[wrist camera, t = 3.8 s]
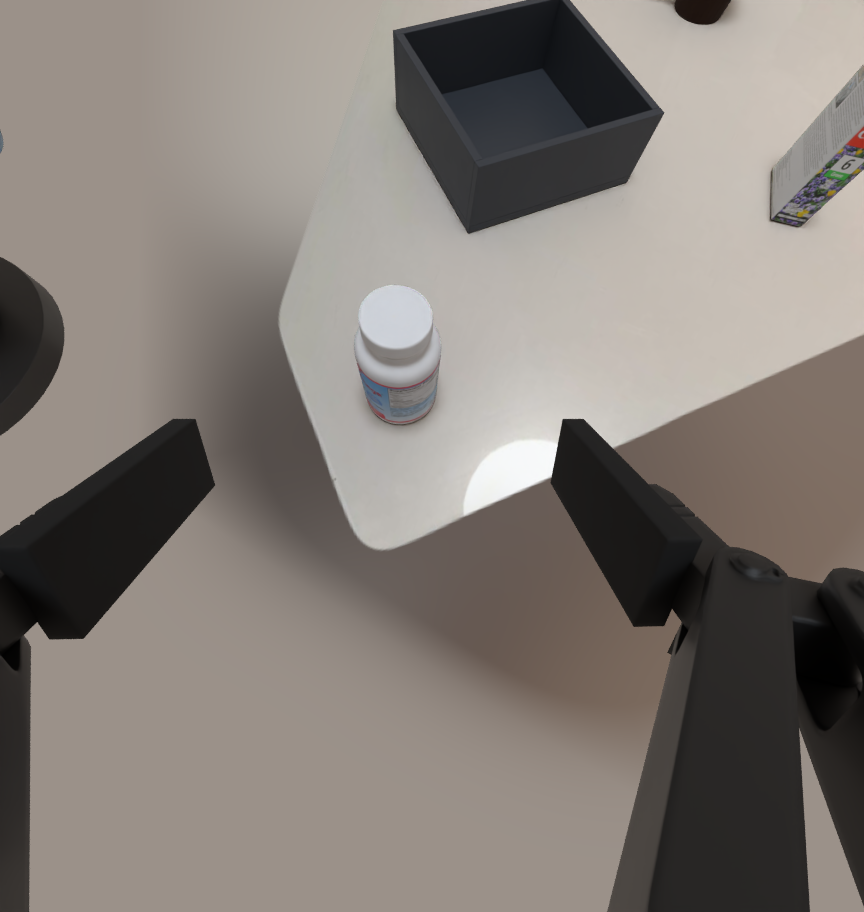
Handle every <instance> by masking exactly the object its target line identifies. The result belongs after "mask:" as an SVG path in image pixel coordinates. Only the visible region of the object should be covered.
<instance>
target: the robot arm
mask: <svg viewBox="0 0 864 912" xmlns="http://www.w3.org/2000/svg"><path fill="white" fill-rule="evenodd" d="M2 148H3V137H2V134H1V131H0V153H1V151H2ZM551 484H552V486H553V488H554V490H555V491H556V493H557V495H558V497H559V498H560V500H561V502H562V503H563V505H564V507H565V509H566V510H567V512H568V514H569V516H570V517H571V519H572V521H573V522H574V524H575V526H576V528H577V529H578V531H579V533H580V534H581V536H582V538H583V540H584V541H585V543H586V545H587V547H588V548H589V550H590V552H591V554H592V555H593V557H594V559H595V560H596V562H597V564H598V566H599V567H600V569H601V571H602V573H603V574H604V576H605V578H606V579H607V581H608V583H609V585H610V586H611V588H612V590H613V591H614V593H615V595H616V597H617V598H618V600H619V602H620V603H621V605H622V607H623V609H624V611H625V612H626V614H627V616H628V617H629V619H630V621H631V623H632V624H633V626H634V627H642V626H664V625H665V623H666V621H667V618H668V616H669V614H670V612H671V610H672V609H673V610H674V612H675V613H676V614H677V616H678V617H679V619H680V620H681V622H682V623H681V625H680V627H679V630H678V632H677V634H676V636H675V638H674V640H673V642H672V644H671V646H670V648H669V650H668V653H669V654H671V659H670V664H669V667H668V671H667V675H666V679H665V683H664V687H663V691H662V695H661V699H660V703H659V707H658V711H657V715H656V719H655V723H654V727H653V731H652V735H651V739H650V743H649V747H648V751H647V755H646V759H645V763H644V767H643V771H642V775H641V779H640V783H639V787H638V791H637V795H636V799H635V803H634V807H633V811H632V815H631V819H630V823H629V827H628V831H627V835H626V839H625V843H624V847H623V851H622V855H621V859H620V863H619V867H618V871H617V875H616V879H615V883H614V887H613V891H612V895H611V899H610V904H609V907H608V911H607V912H810V907H809V889H808V874H807V873H808V872H807V855H806V839H805V821H804V805H803V788H802V771H801V754H800V737H799V728H800V731H801V734H802V737H803V739H804V742H805V745H806V748H807V750H808V753H809V756H810V759H811V762H812V764H813V767H814V770H815V773H816V775H817V778H818V781H819V784H820V786H821V789H822V792H823V795H824V798H825V800H826V803H827V806H828V808H829V811H830V814H831V817H832V819H833V822H834V825H835V828H836V831H837V834H838V836H839V839H840V842H841V845H842V847H843V850H844V853H845V856H846V858H847V861H848V864H849V867H850V870H851V872H852V875H853V878H854V880H855V883H856V886H857V889H858V892H859V894H860V897H861V900H862V903H863V905H864V572H863V571H860V570H855V569H849V568H837V569H833V570H832V571H831V572H830V573H829V574H828V576H827V577H826V579H825V580H824V582H823V583H817V582H812V581H806V580H801V579H797V578H792V577H788V576H787V574H786V573H785V572H784V571H783V570H782V569H781V568H780V567H779V566H778V565H777V564H775V563H774V562H772V561H770V560H769V559H767V558H766V557H764V556H761V555H759V554H757V553H755V552H752V551H749V550H745V549H741V548H737V547H729V546H728V545H727V544H726V543H725V542H723V541H722V539H720V538H719V537H718V536H717V535H716V534H715V533H714V532H713V531H712V530H711V529H710V528H709V527H708V526H707V525H706V524H704V523H703V522H702V521H701V520H700V519H699V518H698V517H695V514H694V513H693V512H692V511H691V510H690V509H689V508H688V507H685V505H684V504H683V503H682V502H681V501H680V500H679V499H678V498H677V497H676V496H675V495H674V494H673V493H671V492H669V491H667V490H666V489H664V488H662V487H660V486H658V485H657V484H647V483H646V481H645V480H644V479H642V478H641V476H640V475H639V474H638V473H637V472H636V471H635V470H634V469H633V468H632V467H630V466H629V464H628V463H627V462H626V461H625V460H624V459H622V457H621V456H620V455H618V453H617V452H616V451H615V450H614V449H613V448H612V447H611V446H610V445H609V444H608V443H607V442H606V441H605V440H604V439H603V438H602V437H601V436H600V435H599V434H598V433H597V432H596V431H595V430H594V429H593V428H592V427H591V426H590V425H589V424H588V423H587V422H586V421H585V420H584V419H563V421H562V426H561V431H560V436H559V442H558V447H557V452H556V457H555V463H554V468H553V473H552V478H551ZM214 486H215V483H214V480H213V476H212V473H211V470H210V466H209V463H208V460H207V456H206V453H205V449H204V446H203V443H202V439H201V436H200V433H199V429H198V426H197V423H196V420H195V419H173V420H171V421H169V422H168V423H167V424H165V425H164V426H162V427H161V428H159V429H158V430H157V431H155V432H154V433H152V434H151V435H149V436H148V437H147V438H145V439H144V440H142V441H141V442H139V443H138V444H136V445H135V446H133V447H132V448H131V449H129V450H128V451H126V452H125V453H123V454H122V455H121V456H119V457H117V458H116V459H115V460H113V461H112V462H110V463H109V464H107V465H106V466H105V467H103V468H102V469H100V470H99V471H98V472H96V473H95V474H93V475H91V476H90V477H89V478H87V479H86V480H84V481H83V482H81V483H80V484H78V485H77V486H76V487H74V488H73V489H71V490H70V491H68V492H67V493H66V494H64V495H63V496H60V497H58V498H56V499H54V500H52V501H51V502H49V503H48V504H46V505H45V506H43V507H42V508H41V509H39V510H37V511H36V512H35V515H30V516H29V517H27V518H26V519H25V520H23V521H22V522H20V525H16V526H14V527H13V528H11V529H10V530H8V531H7V532H5V533H4V534H3V535H1V536H0V912H29V842H30V841H29V838H30V837H29V834H30V683H31V681H30V678H31V677H30V676H31V672H30V671H31V667H30V666H31V646H30V644H29V642H28V640H27V639H26V638H25V636H24V634H25V633H26V632H27V631H28V630H29V629H30V628H31V627H32V626H33V625H34V624H35V623H37V622H38V624H39V625H40V627H41V628H42V629H43V631H44V632H45V634H46V635H47V637H48V638H49V639H83V638H85V636H86V635H87V634H88V633H89V632H90V631H91V629H92V628H93V627H94V626H95V625H96V624H97V622H98V621H99V620H100V619H101V618H102V617H103V615H104V614H105V613H106V612H107V611H108V610H109V608H110V607H111V606H112V605H113V604H114V603H115V601H116V600H117V599H118V598H119V596H121V594H122V593H123V592H124V591H125V590H126V589H127V587H128V586H129V585H130V584H131V583H132V582H133V580H134V579H135V578H136V577H137V576H138V574H139V573H140V572H141V571H142V570H143V569H144V568H145V566H146V565H147V564H148V563H149V562H150V561H151V559H152V558H153V557H154V556H155V555H156V554H157V552H158V551H159V550H160V549H161V548H162V547H163V545H164V544H165V543H166V542H167V541H168V539H169V538H170V537H171V536H172V535H173V534H174V533H175V531H176V530H177V529H178V528H179V527H180V526H181V524H182V523H183V522H184V521H185V520H186V519H187V517H188V516H189V515H190V514H191V512H193V510H194V509H195V508H196V507H197V506H198V504H199V503H200V502H201V501H202V500H203V499H204V498H205V496H206V495H207V494H208V493H209V492H210V491H211V489H212V488H213V487H214Z"/></svg>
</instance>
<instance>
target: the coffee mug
mask: <svg viewBox="0 0 864 912" xmlns="http://www.w3.org/2000/svg"><path fill="white" fill-rule="evenodd" d="M730 1H731V0H676V1H675V5H674V6H675V10H676V12H677V13H678V14H679V15H680V16H681V17H683V18H684V19H686V20H688V21H690V22H693V23H697V24H711V23H714V22H716V21H717V20H718V19H719V18H720V17H721V15H722V14H723V12H724V10H725V9H726V7H727V6H728V4H729V3H730Z"/></svg>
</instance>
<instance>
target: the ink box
mask: <svg viewBox="0 0 864 912" xmlns="http://www.w3.org/2000/svg"><path fill="white" fill-rule="evenodd" d="M862 170H864V65H862V66H861V68H860V69H859V70H858V71H857V72H856V73H855V75H854V76H853V77H852V78H851V79H850V80H849V82H848V83H847V84H846V85H845V86H844V87H843V88H842V90H841V91H840V92H839V93H838V94H837V95H836V96H835V97H834V99H833V100H832V101H831V102H830V103H829V104H828V106H827V107H826V108H825V109H824V110H823V111H822V112H821V114H820V115H819V116H818V117H817V118H816V119H815V120H814V122H813V123H812V124H811V125H810V126H809V127H808V128H807V130H806V131H805V132H804V133H803V134H802V135H801V137H800V138H799V139H798V140H797V141H796V142H795V143H794V145H793V146H792V147H791V148H790V149H789V150H788V151H787V153H786V154H785V155H784V156H783V157H782V158H781V159H780V161H779V162H778V163H777V164H776V165H775V166H774V168H773V170H772V180H771V181H772V182H771V220H775V221H779V222H783V223H787V224H791V225H795V226H802V225H803V224H804V223H805V222H806V221H807V220H808V219H809V218H810V217H812V216H813V215H814V214H815V213H816V212H817V211H818V210H820V209H821V208H822V207H823V206H824V205H825V204H826V203H827V202H828V201H829V200H830V199H831V198H832V197H833V196H835V195H836V194H837V193H838V192H839V191H840V190H841V189H842V188H843V187H845V186H846V185H847V184H848V183H849V182H850V181H851V180H852V179H854V178H855V177H856V176H857V175H858V174H859V173H860V172H861V171H862Z"/></svg>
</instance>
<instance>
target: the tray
mask: <svg viewBox="0 0 864 912" xmlns="http://www.w3.org/2000/svg"><path fill="white" fill-rule="evenodd" d="M393 41H394V65H395V88H396V109H397V111H398V113H399V115H400V116H401V118H402V120H403V121H404V123H405V125H406V127H407V128H408V130H409V132H410V133H411V135H412V137H413V139H414V140H415V142H416V144H417V146H418V147H419V149H420V151H421V152H422V154H423V156H424V158H425V159H426V161H427V163H428V165H429V166H430V168H431V170H432V171H433V173H434V175H435V177H436V178H437V180H438V182H439V184H440V185H441V187H442V189H443V190H444V192H445V194H446V196H447V197H448V199H449V201H450V203H451V204H452V206H453V208H454V209H455V211H456V213H457V215H458V216H459V218H460V220H461V222H462V223H463V225H464V227H465V228H466V230H467V232H468V233H471V232H474V231H477V230H480V229H484V228H487V227H490V226H493V225H496V224H499V223H502V222H505V221H508V220H512V219H515V218H518V217H521V216H524V215H527V214H530V213H533V212H536V211H539V210H543V209H546V208H549V207H552V206H555V205H558V204H561V203H564V202H567V201H571V200H574V199H577V198H580V197H583V196H586V195H589V194H592V193H595V192H598V191H602V190H605V189H608V188H611V187H614V186H617V185H620V184H623V183H626V182H627V181H628V179H629V177H630V175H631V173H632V171H633V170H634V168H635V166H636V164H637V162H638V160H639V159H640V157H641V155H642V153H643V151H644V149H645V148H646V146H647V144H648V142H649V140H650V138H651V136H652V135H653V133H654V131H655V129H656V127H657V125H658V124H659V122H660V120H661V118H662V116H663V114H664V112H663V111H662V109H661V108H659V106H658V105H657V104H656V102H655V101H654V100H653V99H652V98H651V97H650V95H649V94H648V93H647V92H646V91H645V89H644V88H643V87H642V86H641V85H640V83H639V82H638V81H637V80H636V79H635V77H634V76H633V75H632V74H631V73H630V71H629V70H628V69H627V68H626V67H625V66H624V64H623V63H622V62H621V61H620V60H619V58H618V57H617V56H616V55H615V54H614V52H613V51H612V50H611V49H610V48H609V46H608V45H607V44H606V43H605V42H604V40H603V39H602V38H601V37H600V36H599V34H598V33H597V32H596V31H595V30H594V29H593V27H592V26H591V25H590V24H589V23H588V21H587V20H586V19H585V18H584V17H583V15H582V14H581V13H580V12H579V11H578V9H577V8H576V7H575V6H574V5H573V3H572V2H571V1H570V0H525V1H521V2H517V3H512V4H508V5H503V6H499V7H494V8H490V9H486V10H481V11H477V12H472V13H468V14H464V15H459V16H455V17H450V18H446V19H441V20H437V21H433V22H428V23H424V24H419V25H415V26H410V27H406V28H402V29H397V30H393Z"/></svg>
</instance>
